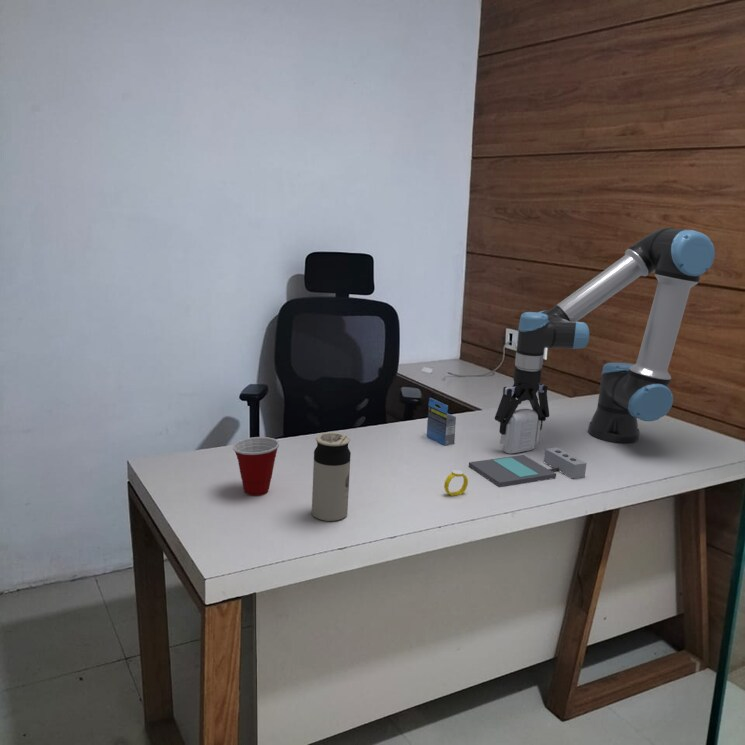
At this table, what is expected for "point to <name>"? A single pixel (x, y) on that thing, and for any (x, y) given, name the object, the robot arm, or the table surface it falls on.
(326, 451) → the travel mug
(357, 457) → the table surface
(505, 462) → the pad
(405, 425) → the table surface
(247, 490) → the plastic cup
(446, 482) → the watch
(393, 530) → the table surface
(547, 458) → the power strip
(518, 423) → the photo printer
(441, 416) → the label tape box
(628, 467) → the table surface
